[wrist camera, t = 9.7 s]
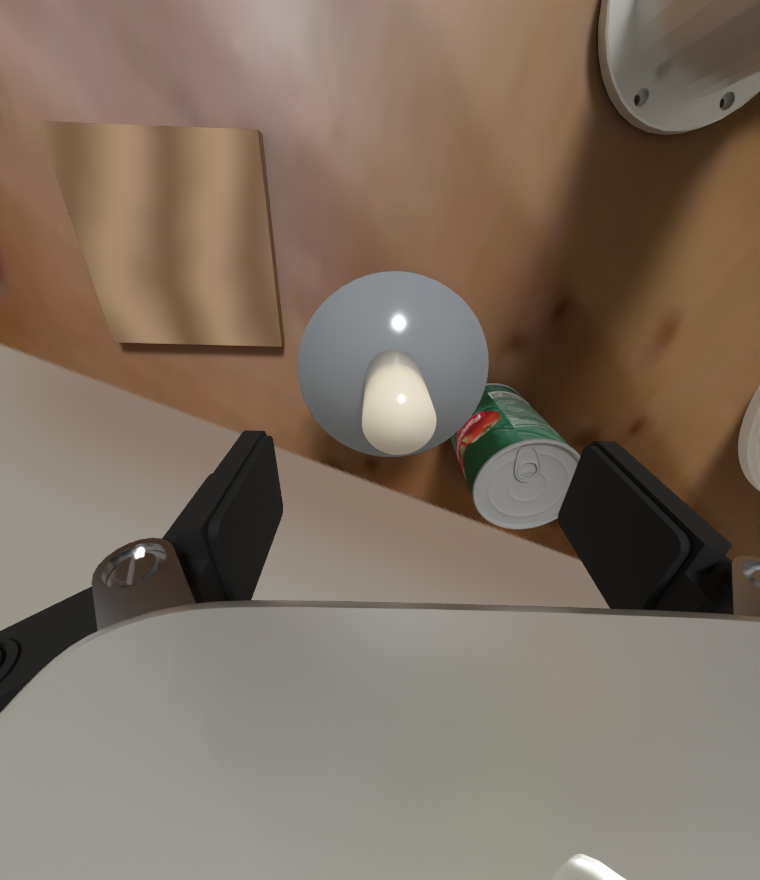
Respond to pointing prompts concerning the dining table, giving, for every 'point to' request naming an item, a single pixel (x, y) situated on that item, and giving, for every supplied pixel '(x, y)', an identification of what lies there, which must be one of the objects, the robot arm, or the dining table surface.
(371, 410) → the lid
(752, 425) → the plate stack
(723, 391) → the dining table surface
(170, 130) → the cork mat
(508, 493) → the canned tomato
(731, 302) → the dining table surface
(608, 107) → the dining table surface
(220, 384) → the dining table surface
